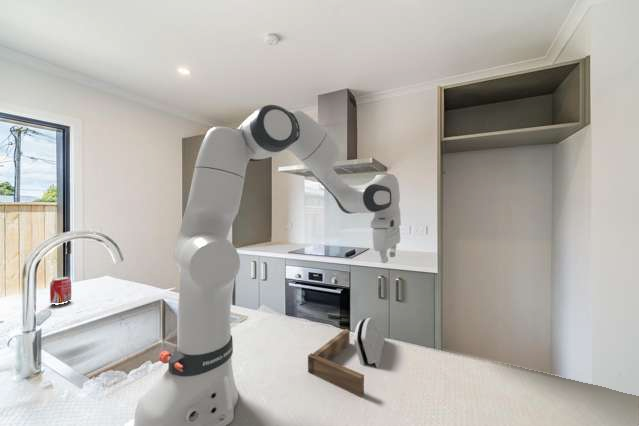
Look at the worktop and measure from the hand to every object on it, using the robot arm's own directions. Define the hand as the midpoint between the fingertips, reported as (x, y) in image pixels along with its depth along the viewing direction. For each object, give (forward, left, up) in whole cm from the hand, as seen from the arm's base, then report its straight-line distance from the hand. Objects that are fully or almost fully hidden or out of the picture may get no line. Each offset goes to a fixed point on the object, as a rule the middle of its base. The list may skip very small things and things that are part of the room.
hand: (388, 259), depth 90 cm
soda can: (-62, +137, -27) cm, 153 cm away
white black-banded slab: (-14, +1, -27) cm, 30 cm away
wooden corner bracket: (-24, +2, -27) cm, 36 cm away
